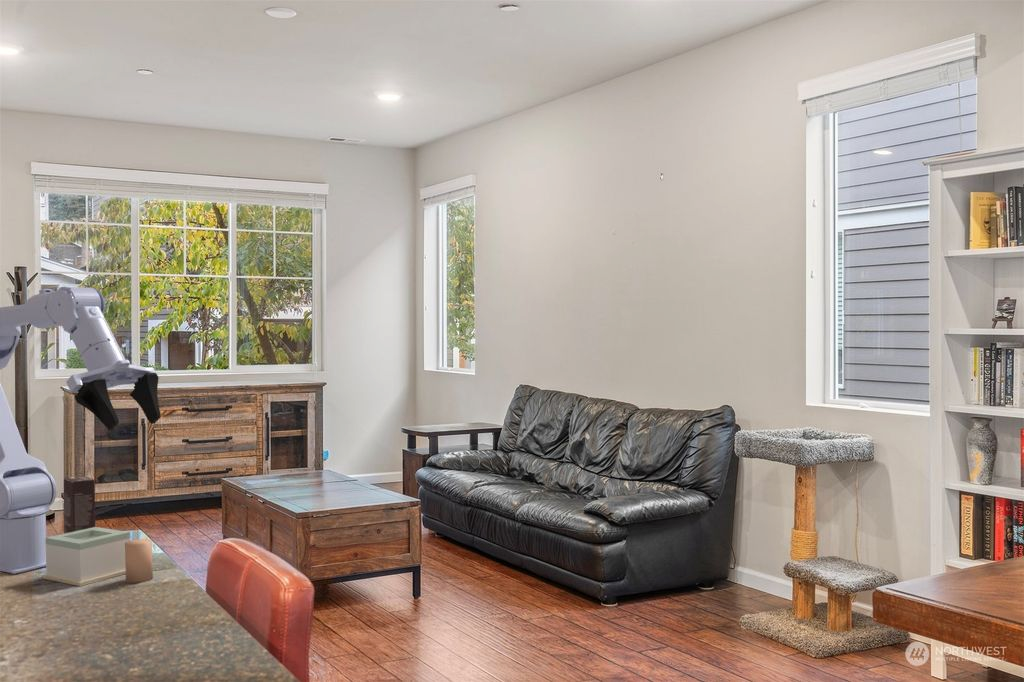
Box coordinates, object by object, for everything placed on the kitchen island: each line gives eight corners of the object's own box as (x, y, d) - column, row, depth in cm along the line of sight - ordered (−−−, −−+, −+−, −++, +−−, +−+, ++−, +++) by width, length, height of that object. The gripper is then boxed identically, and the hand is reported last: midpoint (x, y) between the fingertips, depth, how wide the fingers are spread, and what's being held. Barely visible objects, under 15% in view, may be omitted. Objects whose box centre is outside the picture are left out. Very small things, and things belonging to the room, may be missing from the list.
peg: (120, 581, 149) (119, 543, 149) (141, 574, 152) (140, 538, 152) (136, 584, 147) (135, 546, 147) (158, 578, 150) (157, 540, 150)
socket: (41, 578, 151) (40, 538, 151) (97, 564, 160) (96, 526, 160) (79, 586, 146) (78, 544, 146) (135, 571, 155) (134, 531, 155)
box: (97, 542, 176) (95, 478, 176) (71, 546, 173) (69, 481, 173) (88, 537, 181) (86, 475, 181) (63, 541, 178) (61, 478, 178)
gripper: (69, 339, 140) (106, 414, 137) (151, 334, 153) (187, 403, 149) (48, 365, 144) (83, 440, 140) (129, 359, 156) (164, 427, 152)
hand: (135, 423), depth 145 cm, fingers open, 7 cm apart
